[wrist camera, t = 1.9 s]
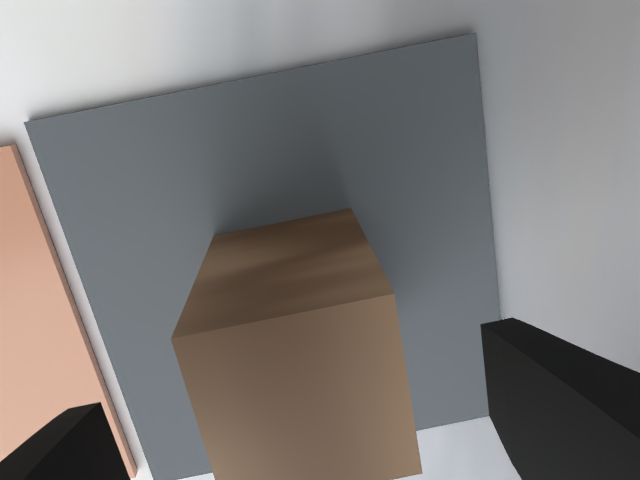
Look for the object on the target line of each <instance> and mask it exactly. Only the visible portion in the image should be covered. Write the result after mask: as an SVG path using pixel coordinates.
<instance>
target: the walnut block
mask: <svg viewBox="0 0 640 480" xmlns="http://www.w3.org/2000/svg"><path fill="white" fill-rule="evenodd" d="M171 341H172V345H173V348H174V351H175V354H176V357H177V360H178V364H179V367H180V370H181V373H182V376H183V379H184V383H185V386H186V389H187V392H188V395H189V398H190V402H191V405H192V408H193V411H194V414H195V417H196V421H197V424H198V427H199V430H200V433H201V436H202V440H203V443H204V446H205V449H206V452H207V455H208V459H209V462H210V465H211V468H212V471H213V474H214V478H215V480H393V479H398V478H402V477H407V476H412V475H417V474H422V468H421V461H420V455H419V448H418V442H417V435H416V429H415V422H414V416H413V410H412V403H411V397H410V390H409V384H408V377H407V371H406V364H405V358H404V352H403V345H402V339H401V332H400V326H399V319H398V313H397V306H396V300H395V294H394V292H393V290H392V288H391V286H390V284H389V282H388V280H387V278H386V276H385V274H384V272H383V270H382V268H381V266H380V264H379V262H378V260H377V258H376V256H375V254H374V252H373V250H372V248H371V246H370V244H369V242H368V240H367V238H366V236H365V234H364V232H363V230H362V228H361V226H360V224H359V222H358V220H357V218H356V217H355V215H354V213H353V211H352V209H351V208H350V209H345V210H340V211H335V212H330V213H325V214H320V215H315V216H310V217H305V218H300V219H295V220H290V221H285V222H280V223H275V224H270V225H265V226H260V227H255V228H250V229H245V230H240V231H235V232H230V233H225V234H220V235H215V236H213V238H212V241H211V243H210V245H209V248H208V250H207V253H206V255H205V257H204V260H203V262H202V265H201V267H200V269H199V272H198V274H197V277H196V279H195V282H194V284H193V286H192V289H191V291H190V294H189V296H188V298H187V301H186V303H185V306H184V308H183V310H182V313H181V315H180V318H179V320H178V323H177V325H176V327H175V330H174V332H173V335H172V337H171Z"/></svg>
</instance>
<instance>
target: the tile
mask: <svg viewBox="0 0 640 480" xmlns="http://www.w3.org/2000/svg"><path fill="white" fill-rule="evenodd" d="M97 402H101V404H102V407H103V409H104V412H105V415H106V417H107V420H108V422H109V425H110V428H111V430H112V433H113V435H114V438H115V441H116V443H117V446H118V448H119V451H120V454H121V456H122V459H123V461H124V464H125V467H126V469H127V472H128V475H129V477H130V478H135V477H136V474H137V468H136V465H135V462H134V460H133V457H132V454H131V452H130V449H129V446H128V444H127V441H126V438H125V436H124V433H123V430H122V428H121V425H120V422H119V420H118V417H117V414H116V412H115V409H114V406H113V404H112V401H111V398H110V395H109V393H108V390H107V387H106V385H105V382H104V379H103V377H102V374H101V371H100V369H99V366H98V363H97V361H96V358H95V355H94V353H93V350H92V347H91V345H90V342H89V339H88V337H87V334H86V331H85V328H84V326H83V323H82V320H81V318H80V315H79V312H78V310H77V307H76V304H75V302H74V299H73V296H72V294H71V291H70V288H69V286H68V283H67V280H66V278H65V275H64V272H63V270H62V267H61V264H60V261H59V259H58V256H57V253H56V251H55V248H54V245H53V243H52V240H51V237H50V235H49V232H48V229H47V227H46V224H45V221H44V219H43V216H42V213H41V211H40V208H39V205H38V203H37V200H36V197H35V194H34V192H33V189H32V186H31V184H30V181H29V178H28V176H27V173H26V170H25V168H24V165H23V162H22V160H21V157H20V154H19V152H18V149H17V146H16V144H14V145H9V146H3V147H0V462H1V461H2V460H3V459H4V458H5V457H7V456H8V455H9V454H10V453H11V452H13V451H14V450H15V449H16V448H17V447H19V446H20V445H21V444H22V443H24V442H25V441H26V440H27V439H28V438H30V437H31V436H32V435H33V434H35V433H36V432H37V431H38V430H40V429H41V428H42V427H43V426H45V425H46V424H47V423H48V422H50V421H51V420H52V419H54V418H55V417H56V416H58V415H59V414H61V413H62V412H64V411H65V410H67V409H68V408H73V407H78V406H82V405H87V404H92V403H97Z"/></svg>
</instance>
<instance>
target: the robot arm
mask: <svg viewBox="0 0 640 480" xmlns="http://www.w3.org/2000/svg"><path fill="white" fill-rule="evenodd" d="M480 327H481V337H482V347H483V357H484V368H485V378H486V388H487V398H488V409H489V416H490V418H491V420H492V422H493V424H494V427H495V429H496V431H497V433H498V435H499V437H500V440H501V442H502V444H503V446H504V448H505V450H506V452H507V454H508V456H509V458H510V460H511V462H512V464H513V466H514V467H515V469H516V470H517V472H518V474H519V475H520V477H521V479H522V480H640V373H639V372H636V371H634V370H631V369H629V368H626V367H624V366H622V365H619V364H617V363H614V362H612V361H610V360H607V359H605V358H603V357H600V356H598V355H596V354H594V353H591V352H589V351H587V350H585V349H582V348H580V347H578V346H576V345H574V344H571V343H569V342H567V341H565V340H563V339H560V338H558V337H556V336H554V335H552V334H550V333H547V332H545V331H543V330H541V329H539V328H536V327H534V326H532V325H530V324H527V323H525V322H522V321H520V320H517V319H515V318H508V319H503V320H498V321H493V322H489V323H484V324H480ZM0 480H130V477H129V475H128V472H127V469H126V467H125V464H124V461H123V459H122V456H121V454H120V451H119V448H118V446H117V443H116V441H115V438H114V435H113V433H112V430H111V428H110V425H109V422H108V420H107V417H106V415H105V412H104V409H103V407H102V404H101V402H97V403H92V404H87V405H82V406H78V407H73V408H68V409H67V410H65V411H64V412H62V413H61V414H59V415H58V416H56V417H55V418H54V419H52V420H51V421H50V422H48V423H47V424H46V425H45V426H43V427H42V428H41V429H40V430H38V431H37V432H36V433H35V434H33V435H32V436H31V437H30V438H28V439H27V440H26V441H25V442H24V443H22V444H21V445H20V446H19V447H17V448H16V449H15V450H14V451H13V452H11V453H10V454H9V455H8V456H7V457H5V458H4V459H3V460H2V461H1V462H0Z"/></svg>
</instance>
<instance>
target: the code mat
mask: <svg viewBox="0 0 640 480" xmlns="http://www.w3.org/2000/svg"><path fill="white" fill-rule="evenodd" d="M24 124H25V127H26V130H27V132H28V135H29V138H30V141H31V143H32V146H33V149H34V152H35V154H36V157H37V160H38V163H39V165H40V168H41V171H42V174H43V176H44V179H45V182H46V185H47V187H48V190H49V193H50V196H51V198H52V201H53V204H54V207H55V209H56V212H57V215H58V218H59V220H60V223H61V226H62V229H63V232H64V234H65V237H66V240H67V243H68V245H69V248H70V251H71V254H72V256H73V259H74V262H75V265H76V267H77V270H78V273H79V276H80V278H81V281H82V284H83V287H84V289H85V292H86V295H87V298H88V300H89V303H90V306H91V309H92V311H93V314H94V317H95V320H96V322H97V325H98V328H99V331H100V333H101V336H102V339H103V342H104V344H105V347H106V350H107V353H108V355H109V358H110V361H111V364H112V366H113V369H114V372H115V375H116V377H117V380H118V383H119V386H120V388H121V391H122V394H123V397H124V399H125V402H126V405H127V408H128V410H129V413H130V416H131V419H132V421H133V424H134V427H135V430H136V432H137V435H138V438H139V441H140V443H141V446H142V449H143V452H144V454H145V457H146V460H147V463H148V465H149V468H150V471H151V474H152V476H153V479H154V480H178V479H183V478H187V477H192V476H197V475H202V474H207V473H212V472H213V471H212V468H211V465H210V462H209V459H208V455H207V452H206V449H205V446H204V443H203V440H202V436H201V433H200V430H199V427H198V424H197V421H196V417H195V414H194V411H193V408H192V405H191V402H190V398H189V395H188V392H187V389H186V386H185V383H184V379H183V376H182V373H181V370H180V367H179V364H178V360H177V357H176V354H175V351H174V348H173V345H172V341H171V337H172V335H173V332H174V330H175V327H176V325H177V323H178V320H179V318H180V315H181V313H182V310H183V308H184V306H185V303H186V301H187V298H188V296H189V294H190V291H191V289H192V286H193V284H194V282H195V279H196V277H197V274H198V272H199V269H200V267H201V265H202V262H203V260H204V257H205V255H206V253H207V250H208V248H209V245H210V243H211V241H212V238H213V236H215V235H220V234H225V233H230V232H235V231H240V230H245V229H250V228H255V227H260V226H265V225H270V224H275V223H280V222H285V221H290V220H295V219H300V218H305V217H310V216H315V215H320V214H325V213H330V212H335V211H340V210H345V209H350V208H351V209H352V211H353V213H354V215H355V217H356V218H357V220H358V222H359V224H360V226H361V228H362V230H363V232H364V234H365V236H366V238H367V240H368V242H369V244H370V246H371V248H372V250H373V252H374V254H375V256H376V258H377V260H378V262H379V264H380V266H381V268H382V270H383V272H384V274H385V276H386V278H387V280H388V282H389V284H390V286H391V288H392V290H393V292H394V294H395V300H396V306H397V313H398V319H399V326H400V332H401V339H402V345H403V352H404V358H405V364H406V371H407V377H408V384H409V390H410V397H411V403H412V410H413V416H414V422H415V429H416V431H418V430H423V429H427V428H432V427H437V426H442V425H447V424H452V423H457V422H462V421H467V420H472V419H476V418H481V417H486V416H489V409H488V398H487V388H486V378H485V368H484V357H483V347H482V337H481V327H480V324H484V323H489V322H493V321H498V320H500V310H499V299H498V287H497V275H496V263H495V252H494V240H493V228H492V216H491V205H490V193H489V181H488V169H487V158H486V146H485V134H484V123H483V111H482V99H481V87H480V76H479V64H478V52H477V40H476V33H472V34H467V35H462V36H457V37H452V38H446V39H441V40H436V41H431V42H426V43H421V44H416V45H411V46H406V47H401V48H396V49H391V50H386V51H381V52H376V53H371V54H366V55H361V56H356V57H351V58H346V59H341V60H336V61H330V62H325V63H320V64H315V65H310V66H305V67H300V68H295V69H290V70H285V71H280V72H275V73H270V74H265V75H260V76H255V77H250V78H245V79H240V80H235V81H230V82H225V83H219V84H214V85H209V86H204V87H199V88H194V89H189V90H184V91H179V92H174V93H169V94H164V95H159V96H154V97H149V98H144V99H139V100H134V101H129V102H124V103H119V104H114V105H109V106H103V107H98V108H93V109H88V110H83V111H78V112H73V113H68V114H63V115H58V116H53V117H48V118H43V119H38V120H33V121H28V122H24Z"/></svg>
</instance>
